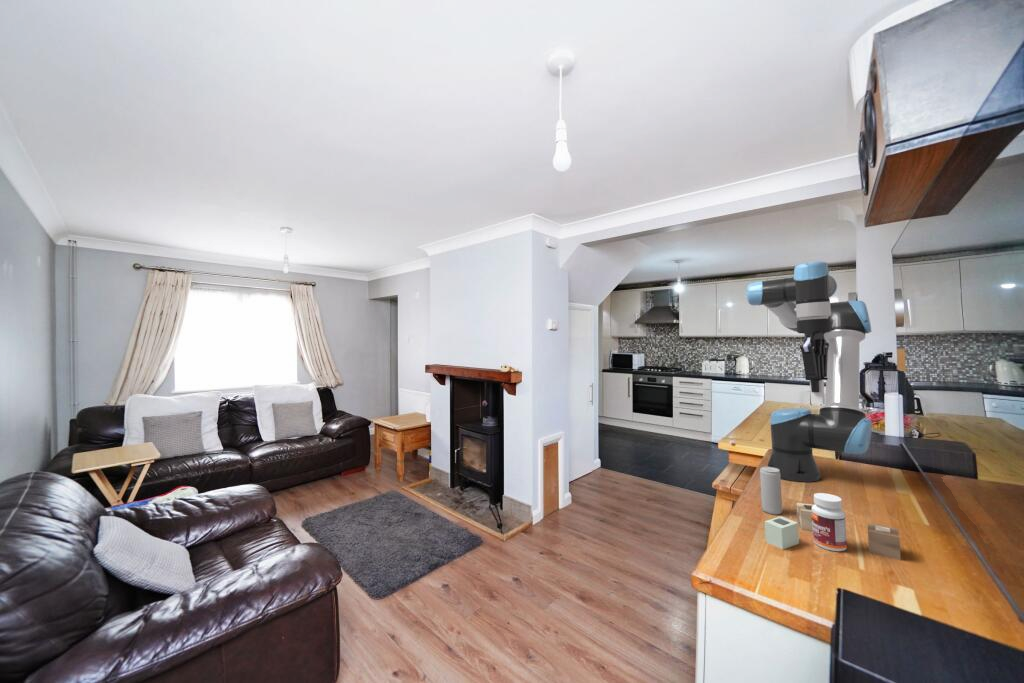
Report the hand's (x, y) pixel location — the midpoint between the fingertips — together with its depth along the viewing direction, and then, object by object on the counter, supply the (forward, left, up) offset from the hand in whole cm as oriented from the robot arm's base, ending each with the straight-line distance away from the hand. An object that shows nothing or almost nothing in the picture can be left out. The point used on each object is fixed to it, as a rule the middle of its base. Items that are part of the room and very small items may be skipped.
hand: (817, 403), depth 106 cm
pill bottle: (+18, +7, -31) cm, 36 cm away
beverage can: (+9, -9, -31) cm, 33 cm away
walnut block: (+12, +15, -31) cm, 36 cm away
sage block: (+25, 0, -31) cm, 39 cm away
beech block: (+11, +1, -31) cm, 32 cm away
